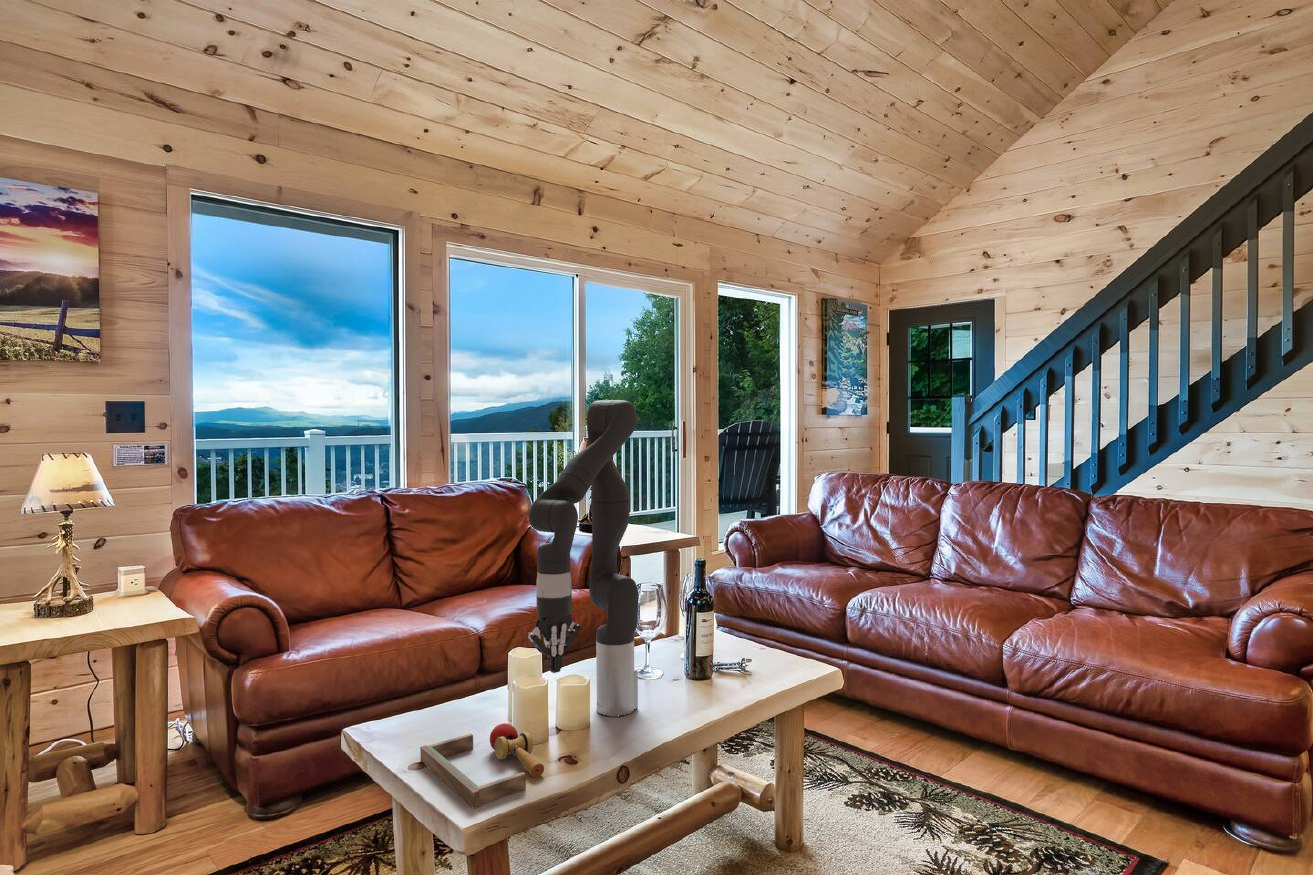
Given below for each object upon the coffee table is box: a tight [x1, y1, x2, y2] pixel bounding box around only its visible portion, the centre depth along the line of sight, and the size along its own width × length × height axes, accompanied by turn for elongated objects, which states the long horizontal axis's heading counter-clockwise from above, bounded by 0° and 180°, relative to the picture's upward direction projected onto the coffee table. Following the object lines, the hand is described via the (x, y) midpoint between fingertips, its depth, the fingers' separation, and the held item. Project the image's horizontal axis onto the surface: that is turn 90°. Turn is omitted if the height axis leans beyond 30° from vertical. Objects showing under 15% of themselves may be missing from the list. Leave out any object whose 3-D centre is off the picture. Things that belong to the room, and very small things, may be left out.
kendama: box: [489, 722, 545, 779], centre depth 164 cm, size 8×6×18 cm
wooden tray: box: [419, 733, 527, 809], centre depth 158 cm, size 11×25×3 cm, turn 39°
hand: (554, 671), depth 170 cm, fingers closed
